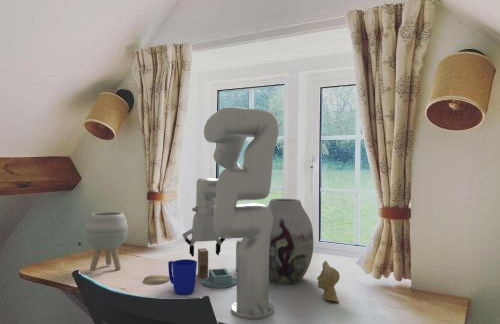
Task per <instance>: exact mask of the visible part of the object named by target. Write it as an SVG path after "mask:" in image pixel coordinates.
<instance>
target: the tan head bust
mask: <svg viewBox="0 0 500 324" xmlns="http://www.w3.org/2000/svg"><path fill="white" fill-rule="evenodd" d="M339 272H340V271H338V270H337V269H336V268H334V267H332V266H330V264H329V263H328V261H327V260H324V261H323V262H322V270H321V272H320V274H319V275H318V276H317V278H316V280H318V281H317V287H318V289H322V290H323V291H324V292H323V294H322V298H323V299H324V300H327V301H331V302H335V303H340V301H339V299H338V296H337V292H336V289H335V286H336V284H337V283H339V281H340V279H341V278H340V276H341V275H340V273H339Z"/></svg>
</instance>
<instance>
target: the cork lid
mask: <svg viewBox="0 0 500 324" xmlns="http://www.w3.org/2000/svg"><path fill="white" fill-rule="evenodd" d="M167 282H170V278H169V275H167V274H166V275H165V274H152V275H147V276H145V277H144V278H143V283H145V284H147V285H161V284H167Z"/></svg>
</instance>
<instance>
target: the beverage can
mask: <svg viewBox="0 0 500 324" xmlns="http://www.w3.org/2000/svg"><path fill="white" fill-rule="evenodd" d="M242 239H243V238H238V239H237V240H236V243H235V269H237V251H238V247H239V245H240V243H241V241H242Z"/></svg>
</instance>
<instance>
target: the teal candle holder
mask: <svg viewBox="0 0 500 324" xmlns="http://www.w3.org/2000/svg"><path fill="white" fill-rule="evenodd" d="M201 284H202V285H203V287H208V288H213V289H226V288H232V287H235V286H237V277H234V276H232V274H231V273H230V272H229V270H228V269H227V268H225V267H224V268H223V267H222V268H210V269H209V268H208V277H206V278H202V279H201Z"/></svg>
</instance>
